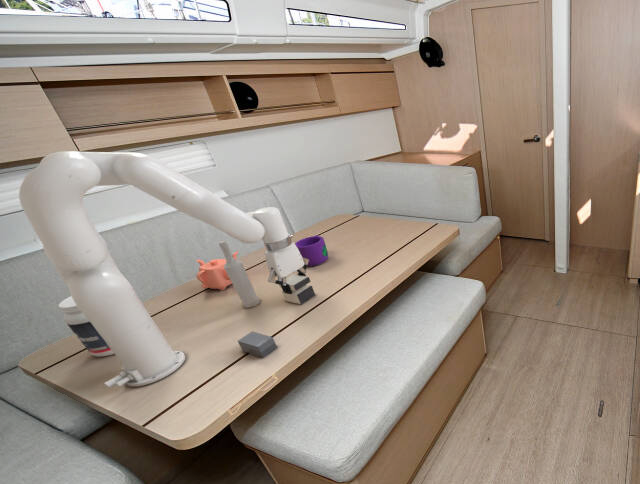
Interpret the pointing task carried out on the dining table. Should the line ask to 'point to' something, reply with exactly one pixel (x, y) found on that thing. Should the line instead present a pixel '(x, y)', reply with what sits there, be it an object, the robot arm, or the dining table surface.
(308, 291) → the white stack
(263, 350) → the gray rectangular block
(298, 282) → the white book
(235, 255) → the teapot
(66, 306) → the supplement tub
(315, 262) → the mug
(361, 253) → the dining table surface
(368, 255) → the dining table surface
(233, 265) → the bottle
